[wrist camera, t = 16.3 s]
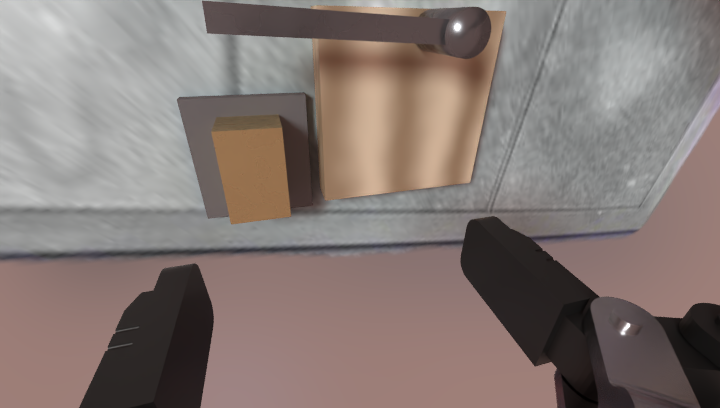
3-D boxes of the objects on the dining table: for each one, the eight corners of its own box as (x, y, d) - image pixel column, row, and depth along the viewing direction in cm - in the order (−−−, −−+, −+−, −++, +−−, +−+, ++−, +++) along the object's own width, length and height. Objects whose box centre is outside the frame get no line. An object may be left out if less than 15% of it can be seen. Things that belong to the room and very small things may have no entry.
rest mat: (303, 92, 28) (305, 94, 27) (311, 200, 34) (312, 205, 33) (179, 97, 26) (176, 99, 25) (209, 213, 31) (208, 218, 30)
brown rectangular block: (278, 114, 28) (282, 127, 24) (286, 195, 32) (291, 216, 28) (216, 117, 26) (211, 131, 23) (233, 201, 30) (231, 224, 27)
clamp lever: (450, 10, 25) (496, 8, 20) (443, 52, 27) (484, 59, 22) (210, -10, 20) (197, -18, 16) (217, 42, 22) (208, 49, 17)
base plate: (484, 11, 29) (506, 11, 27) (455, 171, 37) (470, 182, 35) (310, 6, 25) (317, 5, 23) (319, 186, 33) (325, 200, 31)
